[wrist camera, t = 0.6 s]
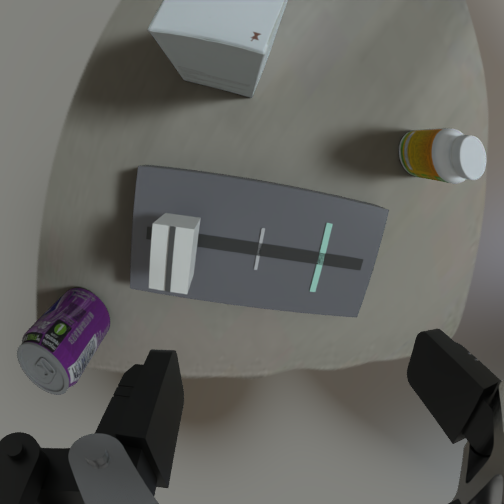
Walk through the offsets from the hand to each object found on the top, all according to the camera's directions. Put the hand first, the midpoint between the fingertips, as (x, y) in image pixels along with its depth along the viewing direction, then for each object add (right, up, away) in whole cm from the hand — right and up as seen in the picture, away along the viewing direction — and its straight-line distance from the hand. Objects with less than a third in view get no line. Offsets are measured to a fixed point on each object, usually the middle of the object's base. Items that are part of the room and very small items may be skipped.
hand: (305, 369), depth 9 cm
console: (-1, +5, +21) cm, 22 cm away
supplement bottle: (+17, +15, +19) cm, 30 cm away
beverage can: (-22, -4, +23) cm, 32 cm away
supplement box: (-4, +23, +15) cm, 28 cm away
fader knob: (-8, +5, +17) cm, 19 cm away
